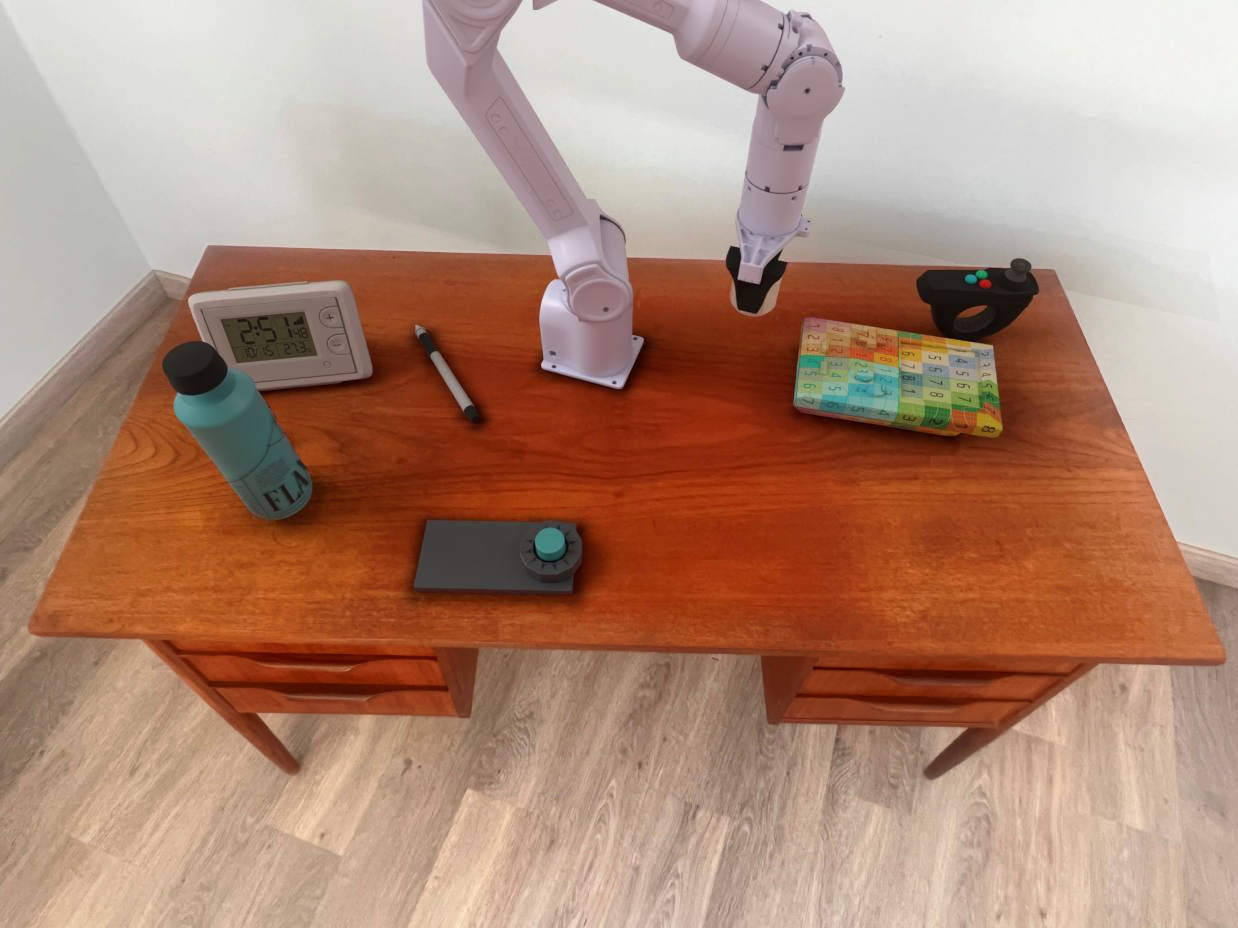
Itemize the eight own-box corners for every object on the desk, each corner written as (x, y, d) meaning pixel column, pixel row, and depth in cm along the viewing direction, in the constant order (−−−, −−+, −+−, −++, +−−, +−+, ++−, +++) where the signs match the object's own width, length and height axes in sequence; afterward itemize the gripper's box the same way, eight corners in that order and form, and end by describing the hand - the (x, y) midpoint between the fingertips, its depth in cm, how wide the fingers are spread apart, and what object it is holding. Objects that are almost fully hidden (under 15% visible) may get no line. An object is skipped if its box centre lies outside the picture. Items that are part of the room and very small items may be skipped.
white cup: (724, 312, 77) (729, 281, 73) (735, 283, 79) (740, 251, 76) (769, 323, 76) (777, 291, 72) (779, 293, 78) (787, 261, 75)
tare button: (535, 561, 65) (533, 552, 64) (537, 535, 67) (536, 527, 66) (564, 561, 65) (563, 553, 64) (566, 536, 67) (565, 527, 65)
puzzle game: (805, 311, 80) (996, 339, 78) (796, 342, 84) (979, 369, 81) (797, 391, 73) (1007, 424, 71) (788, 421, 77) (987, 453, 75)
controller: (1012, 347, 83) (1055, 278, 75) (902, 345, 84) (933, 276, 75) (1002, 321, 86) (1042, 251, 78) (895, 319, 86) (924, 249, 78)
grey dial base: (415, 592, 66) (409, 579, 64) (429, 524, 70) (423, 510, 68) (580, 595, 66) (579, 583, 64) (584, 527, 70) (583, 513, 68)
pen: (470, 426, 77) (468, 418, 76) (411, 330, 85) (408, 321, 84) (482, 421, 77) (480, 413, 76) (421, 325, 85) (419, 317, 84)
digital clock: (216, 397, 79) (167, 324, 70) (246, 337, 84) (204, 262, 76) (365, 404, 78) (334, 332, 70) (386, 343, 84) (360, 269, 75)
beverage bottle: (285, 542, 69) (181, 403, 52) (235, 510, 71) (121, 366, 55) (335, 492, 72) (252, 347, 56) (287, 463, 74) (193, 314, 58)
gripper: (807, 233, 61) (777, 350, 72) (836, 140, 69) (805, 258, 80) (723, 215, 62) (707, 333, 73) (761, 126, 70) (741, 244, 81)
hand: (753, 293), depth 76 cm, fingers closed on white cup, 5 cm apart
